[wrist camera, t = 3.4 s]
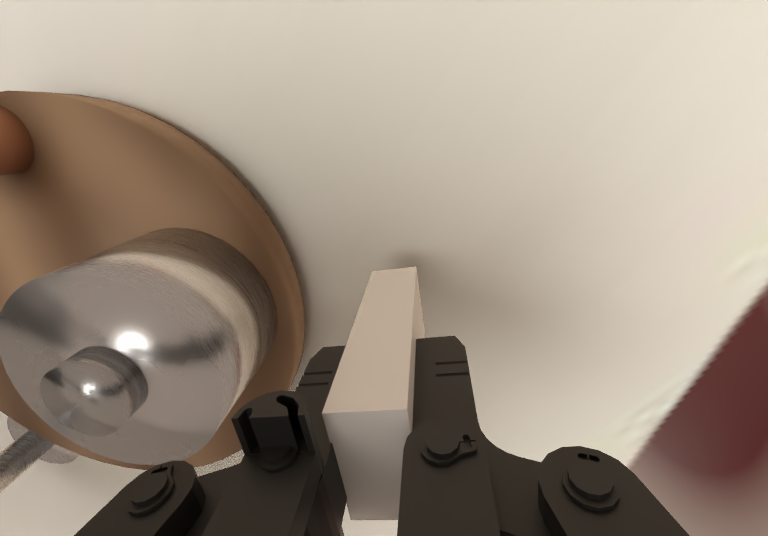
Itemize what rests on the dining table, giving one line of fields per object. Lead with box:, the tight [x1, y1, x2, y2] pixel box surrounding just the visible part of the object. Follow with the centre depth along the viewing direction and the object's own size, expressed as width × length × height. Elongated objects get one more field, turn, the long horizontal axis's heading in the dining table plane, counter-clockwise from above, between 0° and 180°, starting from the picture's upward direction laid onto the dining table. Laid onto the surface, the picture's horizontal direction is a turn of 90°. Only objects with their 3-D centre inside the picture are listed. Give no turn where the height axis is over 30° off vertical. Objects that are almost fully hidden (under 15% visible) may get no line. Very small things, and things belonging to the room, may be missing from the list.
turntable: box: [0, 91, 305, 470], centre depth 15 cm, size 18×18×6 cm
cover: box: [0, 228, 278, 465], centre depth 13 cm, size 7×7×6 cm
